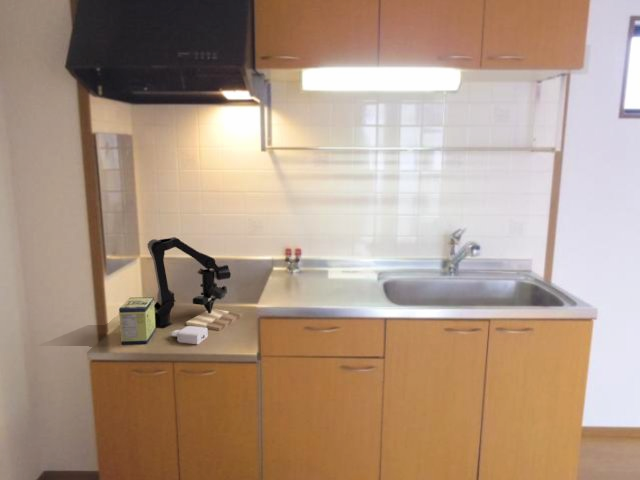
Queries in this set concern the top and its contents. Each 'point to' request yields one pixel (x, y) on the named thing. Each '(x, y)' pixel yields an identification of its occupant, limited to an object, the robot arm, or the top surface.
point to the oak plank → (206, 318)
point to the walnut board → (224, 321)
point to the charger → (191, 334)
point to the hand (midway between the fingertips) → (209, 312)
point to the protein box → (137, 320)
